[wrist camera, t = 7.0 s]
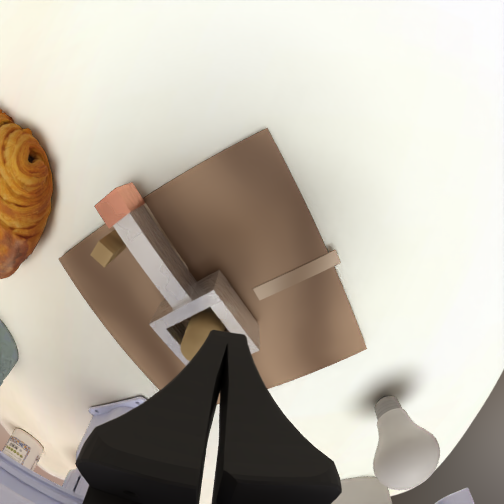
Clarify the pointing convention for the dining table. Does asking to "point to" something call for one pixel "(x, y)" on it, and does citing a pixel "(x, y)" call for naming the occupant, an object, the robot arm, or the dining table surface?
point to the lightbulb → (402, 448)
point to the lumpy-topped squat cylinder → (363, 491)
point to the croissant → (21, 194)
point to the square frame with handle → (173, 275)
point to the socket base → (228, 268)
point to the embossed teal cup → (6, 352)
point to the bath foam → (23, 449)
